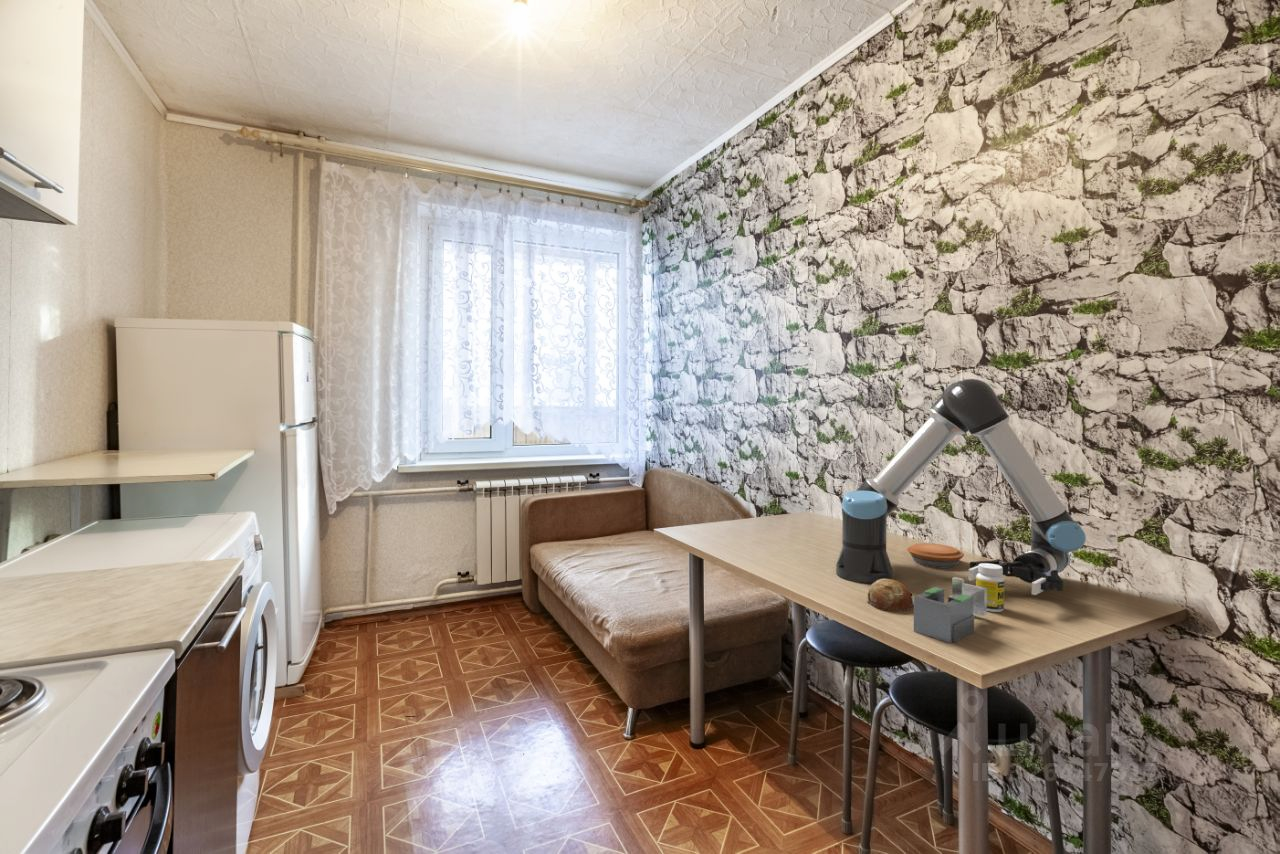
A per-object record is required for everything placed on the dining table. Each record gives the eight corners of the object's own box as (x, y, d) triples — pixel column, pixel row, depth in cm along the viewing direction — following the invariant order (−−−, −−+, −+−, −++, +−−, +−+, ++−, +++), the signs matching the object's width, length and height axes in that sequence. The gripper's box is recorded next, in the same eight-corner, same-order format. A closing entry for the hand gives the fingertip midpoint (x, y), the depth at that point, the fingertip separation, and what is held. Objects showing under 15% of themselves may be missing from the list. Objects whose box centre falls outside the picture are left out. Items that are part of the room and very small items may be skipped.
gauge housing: (935, 620, 124) (936, 585, 124) (974, 631, 118) (974, 595, 117) (912, 630, 118) (913, 594, 118) (951, 643, 112) (952, 605, 112)
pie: (960, 573, 160) (960, 556, 159) (902, 564, 169) (902, 548, 169) (967, 561, 172) (967, 545, 172) (912, 553, 181) (912, 538, 181)
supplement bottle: (1002, 614, 127) (1002, 570, 127) (973, 609, 131) (973, 566, 131) (1005, 607, 132) (1006, 565, 131) (978, 602, 135) (978, 561, 135)
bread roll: (868, 611, 140) (854, 583, 140) (905, 594, 139) (892, 566, 139) (884, 626, 130) (870, 596, 130) (924, 608, 130) (910, 578, 129)
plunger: (963, 608, 129) (963, 569, 128) (986, 614, 125) (987, 574, 124) (941, 618, 123) (942, 577, 122) (965, 625, 119) (966, 583, 118)
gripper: (1093, 592, 135) (1062, 612, 123) (982, 569, 155) (946, 584, 143) (1093, 562, 135) (1063, 578, 123) (982, 543, 155) (946, 555, 143)
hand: (1000, 581), depth 133 cm, fingers open, 13 cm apart
